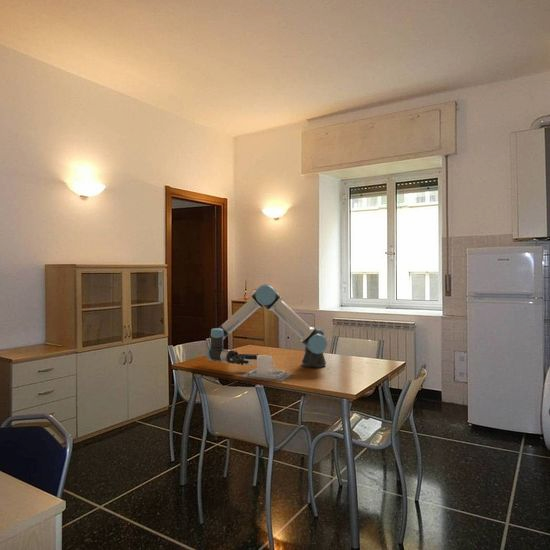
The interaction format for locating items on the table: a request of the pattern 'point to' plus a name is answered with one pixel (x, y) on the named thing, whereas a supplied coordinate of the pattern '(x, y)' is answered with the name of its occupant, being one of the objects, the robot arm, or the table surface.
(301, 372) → the table surface
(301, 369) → the table surface
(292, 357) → the table surface
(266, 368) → the cup
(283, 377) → the rail plate
